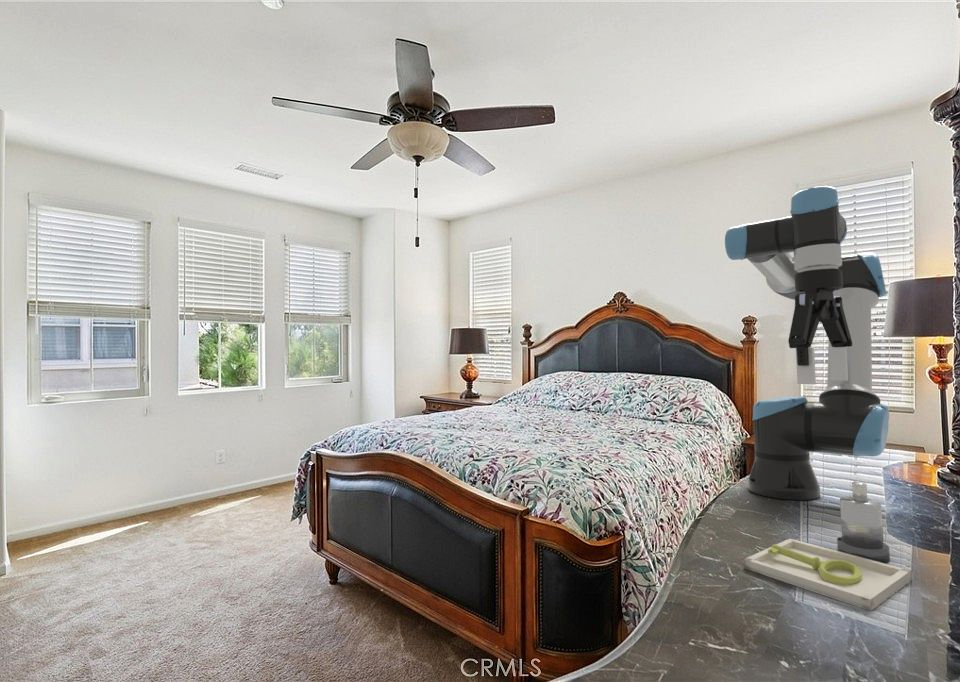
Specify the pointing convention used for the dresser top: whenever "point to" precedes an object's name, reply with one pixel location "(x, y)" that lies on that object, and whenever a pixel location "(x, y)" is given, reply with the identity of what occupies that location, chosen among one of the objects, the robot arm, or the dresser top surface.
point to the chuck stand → (862, 526)
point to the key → (823, 566)
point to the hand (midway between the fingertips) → (823, 382)
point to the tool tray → (864, 593)
